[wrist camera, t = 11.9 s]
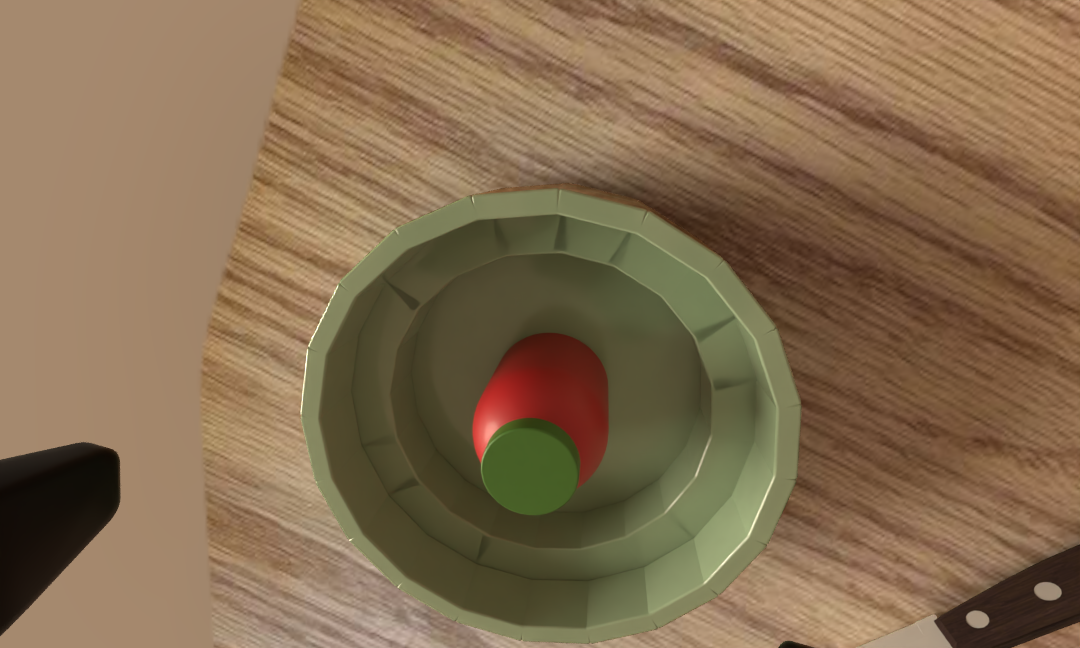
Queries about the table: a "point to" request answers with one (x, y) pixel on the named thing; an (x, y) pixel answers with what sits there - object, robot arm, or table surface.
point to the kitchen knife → (1003, 611)
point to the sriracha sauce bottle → (542, 423)
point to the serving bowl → (634, 413)
